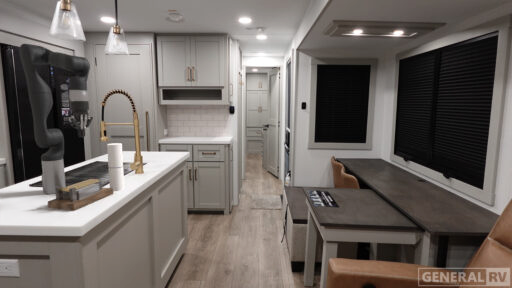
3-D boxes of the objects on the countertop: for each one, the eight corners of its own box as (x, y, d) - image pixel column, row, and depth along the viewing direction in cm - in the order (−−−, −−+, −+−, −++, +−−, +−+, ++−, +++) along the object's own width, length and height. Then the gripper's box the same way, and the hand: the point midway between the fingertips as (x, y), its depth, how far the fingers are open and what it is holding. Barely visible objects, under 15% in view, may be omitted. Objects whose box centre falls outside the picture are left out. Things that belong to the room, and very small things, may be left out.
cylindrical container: (108, 191, 150) (105, 145, 147) (111, 187, 157) (108, 143, 153) (123, 190, 152) (120, 144, 148) (125, 186, 159) (123, 143, 155)
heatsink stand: (48, 207, 125) (46, 188, 124) (90, 191, 149) (89, 175, 147) (74, 210, 123) (72, 190, 121) (113, 193, 146) (112, 177, 144)
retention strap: (59, 191, 126) (59, 188, 125) (90, 181, 143) (90, 178, 143) (68, 192, 125) (68, 189, 124) (99, 182, 142) (98, 178, 142)
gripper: (83, 100, 138) (86, 135, 140) (60, 99, 125) (63, 138, 128) (96, 100, 136) (99, 135, 139) (74, 100, 124) (77, 139, 126)
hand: (81, 137), depth 133 cm, fingers closed
